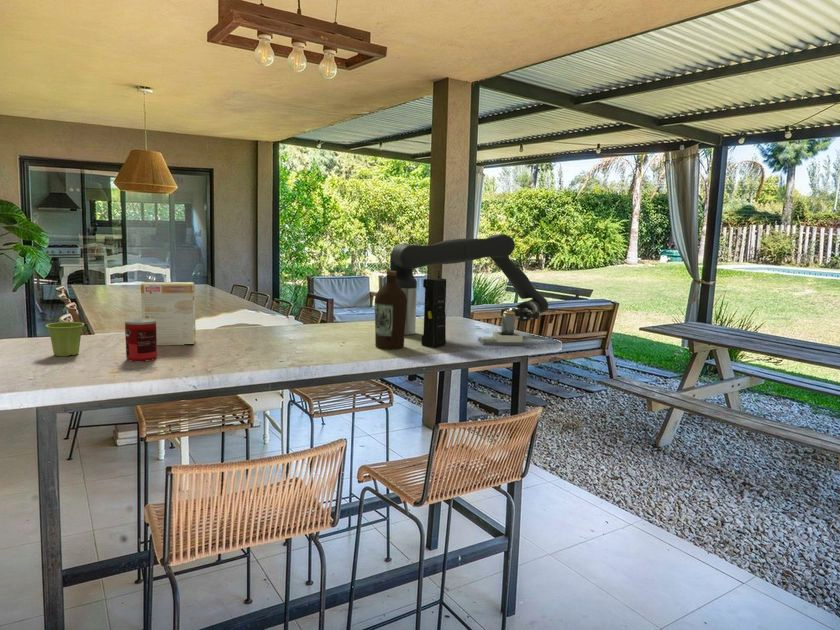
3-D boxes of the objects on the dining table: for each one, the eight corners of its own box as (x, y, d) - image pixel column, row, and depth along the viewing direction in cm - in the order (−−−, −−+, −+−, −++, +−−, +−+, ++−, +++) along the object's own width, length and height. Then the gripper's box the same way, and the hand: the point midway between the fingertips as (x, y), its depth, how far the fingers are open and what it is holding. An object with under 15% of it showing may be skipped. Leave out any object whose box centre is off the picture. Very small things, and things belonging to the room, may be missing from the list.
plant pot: (90, 351, 173) (89, 322, 172) (78, 358, 164) (76, 327, 163) (56, 351, 172) (54, 321, 170) (41, 358, 162) (39, 327, 161)
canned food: (134, 355, 169) (133, 317, 168) (162, 356, 169) (161, 318, 168) (120, 361, 162) (119, 321, 160) (149, 362, 162) (148, 322, 160)
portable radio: (433, 348, 195) (436, 272, 191) (418, 345, 198) (421, 271, 195) (446, 345, 201) (449, 271, 197) (432, 342, 204) (435, 270, 201)
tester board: (483, 344, 204) (484, 335, 203) (478, 340, 212) (478, 331, 212) (523, 345, 205) (523, 336, 205) (515, 340, 214) (516, 331, 214)
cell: (502, 340, 207) (504, 311, 205) (499, 338, 211) (501, 309, 209) (514, 341, 207) (517, 311, 206) (511, 338, 212) (513, 309, 210)
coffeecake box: (196, 341, 194) (195, 281, 191) (193, 345, 187) (192, 283, 184) (146, 341, 190) (144, 281, 187) (142, 346, 183) (140, 283, 180)
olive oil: (385, 342, 202) (387, 269, 199) (411, 346, 196) (414, 271, 193) (367, 347, 193) (368, 270, 190) (393, 351, 188) (395, 272, 184)
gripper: (509, 300, 235) (497, 304, 220) (544, 302, 230) (535, 307, 215) (508, 318, 236) (496, 324, 221) (543, 321, 231) (534, 327, 216)
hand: (516, 315), depth 218 cm, fingers open, 8 cm apart
